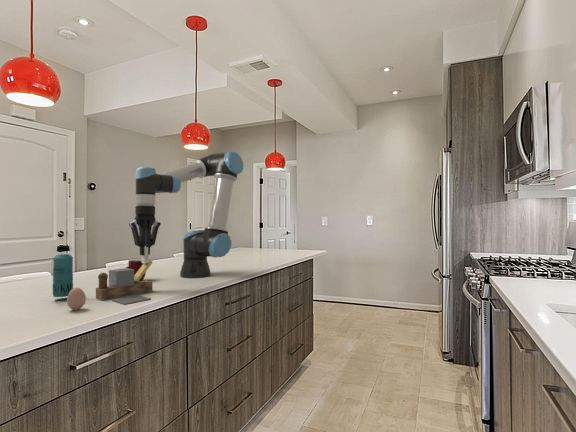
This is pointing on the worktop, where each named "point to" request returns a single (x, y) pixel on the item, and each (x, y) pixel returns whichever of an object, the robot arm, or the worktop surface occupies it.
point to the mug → (136, 266)
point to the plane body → (120, 289)
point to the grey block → (121, 277)
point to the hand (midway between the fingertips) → (144, 263)
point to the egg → (76, 298)
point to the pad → (131, 299)
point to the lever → (142, 271)
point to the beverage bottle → (62, 273)
